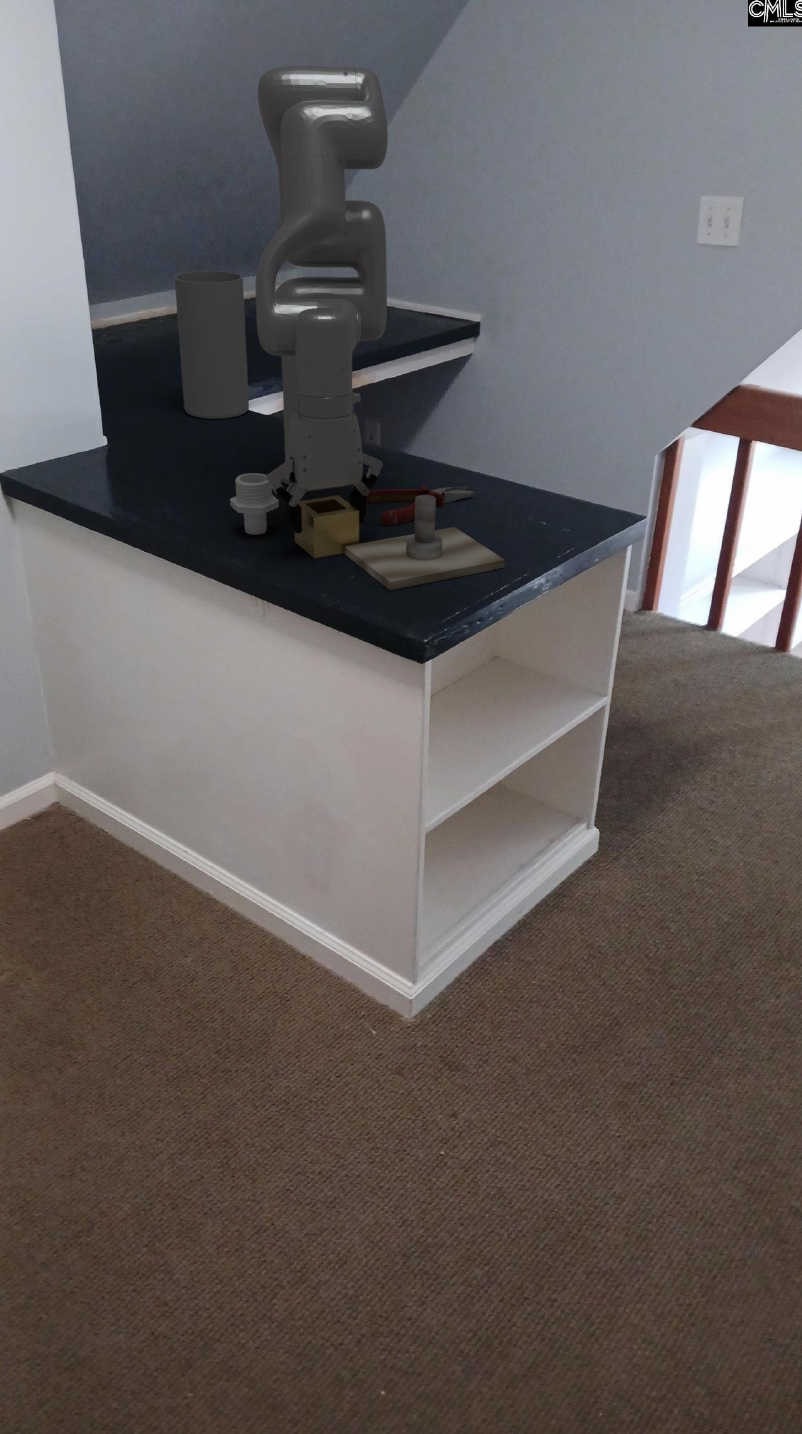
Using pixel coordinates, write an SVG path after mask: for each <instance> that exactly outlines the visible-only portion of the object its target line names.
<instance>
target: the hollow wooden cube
mask: <svg viewBox="0 0 802 1434" xmlns="http://www.w3.org/2000/svg"><path fill="white" fill-rule="evenodd" d="M298 505H300V506H301V509H302V532H301V533H298V534H297V533H295V532H294V542H295V543H296V544H297V545H298V546H300V548H301V549H303V550H304V551H305V552H306V553H308V554H309V555H310V556H311V557H312V558H313V559H318V558H324V557H329V556H335V555H340V554H345V546H350V545H355V544H360V524H359V510H358V509H356V508H355V507H353V506H352V505H351V504H350V502H348V501H346V500H345V499H343V498H342V497H341V496H340V495H339V494H338V495H337V494H336V495H331V496H326V497H324V496H323V497H318V498H312V499H306V500H300V501H299V502H298Z"/></svg>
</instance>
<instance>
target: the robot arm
mask: <svg viewBox="0 0 802 1434" xmlns="http://www.w3.org/2000/svg"><path fill="white" fill-rule="evenodd" d="M257 97H258V99H257V100H258V107H259V111H260V117H261V121H262V124H263V128H264V131H265V133H266V136H267V139H268V142H269V144H270V146H271V149H272V152H273V155H274V158H275V162H276V165H277V171H278V180H279V181H278V189H279V214H280V228H279V229H278V231H277V232H276V233H275V234H274V235H273V236H272V238H271V239H270V241H269V242H268V244H267V245H266V247H265V248H264V250H263V252H262V254H261V256H260V259H259V262H258V265H257V270H256V275H255V310H256V313H255V314H256V329H257V336H258V337H257V338H258V341H259V344H260V346H261V348H262V349H263V350H264V351H265V352H266V353H268V354H269V355H272V356H277V357H278V356H279V357H280V358H281V371H282V375H281V377H282V397H283V398H282V401H283V403H282V404H283V406H282V407H283V430H284V447H283V448H284V458H285V460H284V462H283V463H281V464H280V465H279V466H278V467H276V468H275V469H273V470H271V471H270V472H269V473H268V474H266V475H267V476H266V478H267V480H268V482H269V484H270V485H271V487H272V492H273V493H274V494H275V495H277V496H278V497H279V498H280V499H281V500H283V501H284V502H285V518H286V519H285V520H286V525H287V526H288V527H289V529H290V530H292V532H294V534H295V533H297V534H298V533H301V532H302V509H301V506H300V505H298V502H299V501H301V500H302V499H303V496H304V495H305V494H306V493H307V492H315V491H323V490H329V489H335V488H336V489H338V488H343V487H351V488H352V489H353V490H351V491H350V494H349V504H351V505H352V506H353V507H355V508H356V509H358V510H359V525H360V524H364V523H365V516H366V513H367V504H366V496H367V495H368V494H369V491H370V490H372V488H373V486H374V485H375V484H376V483H377V481H378V476H379V475H380V473H381V470H382V468H383V465H384V462H383V461H381V460H379V459H378V458H375V457H373V456H371V455H369V454H366V453H364V452H363V446H362V437H361V432H360V426H359V421H358V415H357V414H356V413H355V411H354V407H355V406H354V405H356V404H359V403H361V400H362V398H361V397H362V396H361V394H360V392H354V391H353V352H354V350H355V348H356V347H357V344H359V343H360V342H371V341H375V340H378V339H380V338H381V337H382V336H383V335H384V333H385V330H386V327H387V319H388V292H387V291H388V290H387V286H388V283H387V281H388V280H387V237H386V234H387V233H386V226H385V221H384V216H383V213H382V211H381V209H380V208H379V207H378V206H377V205H376V204H375V203H374V202H371V201H366V200H348V199H347V200H346V184H345V183H346V181H345V177H346V176H345V170H376V169H378V168H380V167H381V166H382V165H383V163H384V161H385V159H386V157H387V156H386V155H387V151H388V140H389V139H388V121H387V115H386V114H387V113H386V109H385V103H384V99H383V98H384V97H383V93H382V88H381V84H380V81H379V79H378V76H377V75H376V73H374V71H372V70H371V69H368V68H364V67H353V66H352V67H349V66H348V67H347V66H345V67H343V66H340V67H339V66H317V65H316V66H315V65H314V66H312V65H293V66H291V65H289V66H281V67H280V66H279V67H276V68H272V69H269V70H267V71H266V72H264V73H263V74H262V75H261V77H260V78H259V81H258V86H257ZM286 262H288V263H290V264H291V265H293V266H296V267H301V268H302V267H303V268H325V269H326V268H348V269H349V268H350V269H353V270H355V272H356V273H357V277H356V276H352V277H351V276H345V277H343V276H341V277H340V276H339V277H338V276H335V277H334V276H303V277H302V276H301V277H295V278H290V279H287V280H285V281H284V282H282V283H281V284H279V286H278V287H277V288H276V281H277V277H278V273H279V271H280V269H281V268H282V266H283V265H284V264H285V263H286ZM364 465H367V466H368V471H367V472H366V473H365V474H364V467H363V466H364ZM363 474H364V475H363ZM282 483H283V484H286V485H288V486H287V488H286V489H285V488H284V487H283V484H282Z"/></svg>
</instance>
